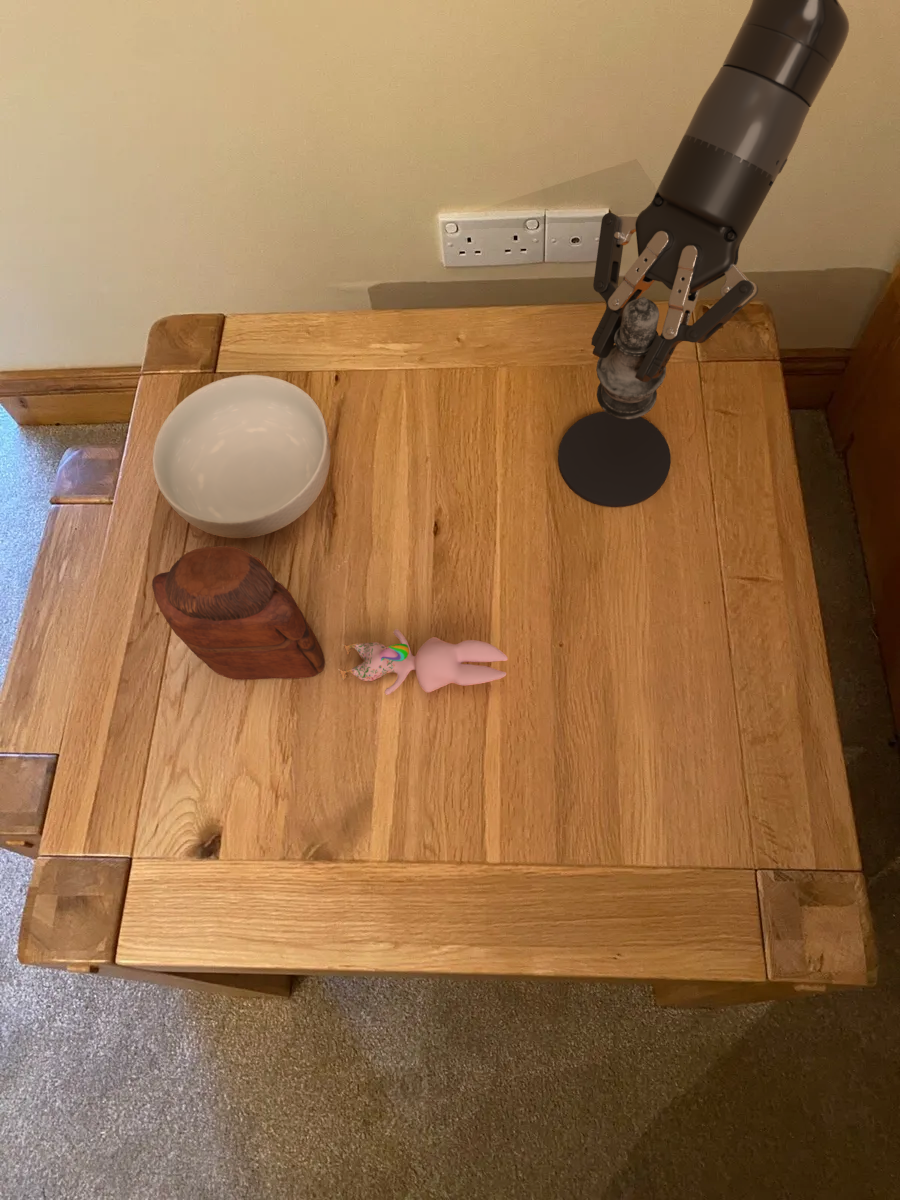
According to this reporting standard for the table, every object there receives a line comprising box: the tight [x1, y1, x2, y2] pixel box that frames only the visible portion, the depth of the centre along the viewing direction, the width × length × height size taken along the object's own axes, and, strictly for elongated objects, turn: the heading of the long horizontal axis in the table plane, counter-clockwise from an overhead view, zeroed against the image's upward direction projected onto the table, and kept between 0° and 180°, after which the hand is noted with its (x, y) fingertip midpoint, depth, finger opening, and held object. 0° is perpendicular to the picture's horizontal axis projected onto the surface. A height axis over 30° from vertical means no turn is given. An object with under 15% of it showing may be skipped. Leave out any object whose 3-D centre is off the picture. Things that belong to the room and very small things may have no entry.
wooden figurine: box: [151, 545, 326, 681], centre depth 74 cm, size 12×6×18 cm, turn 89°
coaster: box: [557, 410, 672, 508], centre depth 88 cm, size 11×11×1 cm
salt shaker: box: [595, 296, 667, 419], centre depth 73 cm, size 6×6×12 cm
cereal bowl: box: [152, 374, 332, 539], centre depth 86 cm, size 17×17×7 cm
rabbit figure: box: [337, 628, 509, 696], centre depth 78 cm, size 6×6×15 cm
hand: (621, 366), depth 73 cm, fingers closed on salt shaker, 3 cm apart
